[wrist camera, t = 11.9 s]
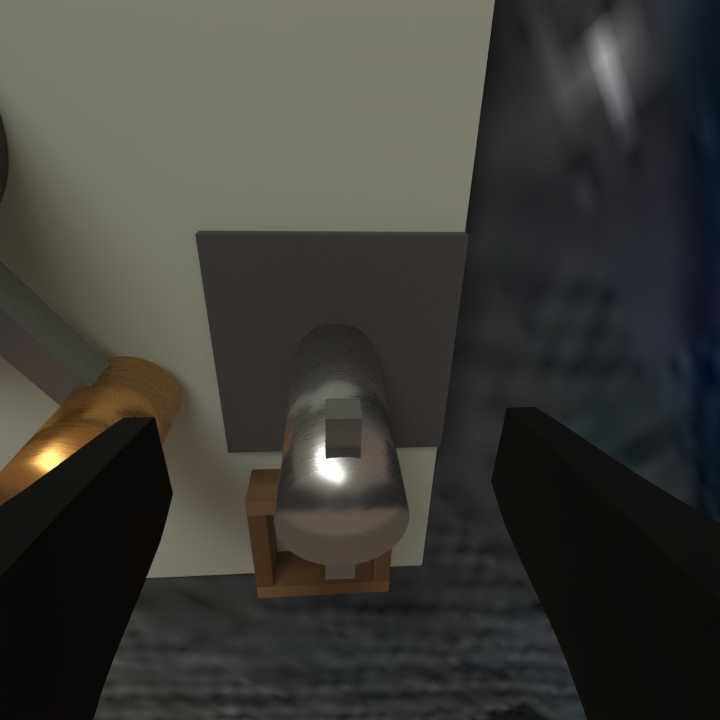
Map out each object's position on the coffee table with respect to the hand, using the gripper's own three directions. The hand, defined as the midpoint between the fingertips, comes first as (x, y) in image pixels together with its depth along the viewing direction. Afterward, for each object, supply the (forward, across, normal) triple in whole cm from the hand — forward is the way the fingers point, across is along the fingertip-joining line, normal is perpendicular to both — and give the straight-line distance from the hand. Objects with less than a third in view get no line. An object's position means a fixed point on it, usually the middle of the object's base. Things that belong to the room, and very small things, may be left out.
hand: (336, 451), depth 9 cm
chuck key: (+4, 0, 0) cm, 4 cm away
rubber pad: (+5, 0, 0) cm, 5 cm away
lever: (+4, +7, 0) cm, 8 cm away
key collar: (+5, 0, +7) cm, 8 cm away
